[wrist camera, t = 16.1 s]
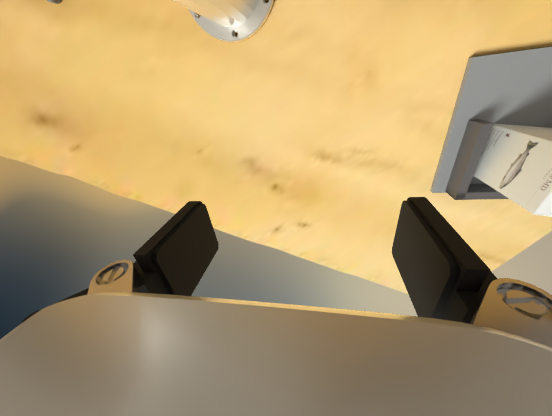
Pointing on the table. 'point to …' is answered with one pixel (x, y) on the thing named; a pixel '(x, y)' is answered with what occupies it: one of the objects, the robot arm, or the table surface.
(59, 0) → the toy car
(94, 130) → the table surface
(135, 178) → the table surface
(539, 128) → the supplement box
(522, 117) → the box holder
